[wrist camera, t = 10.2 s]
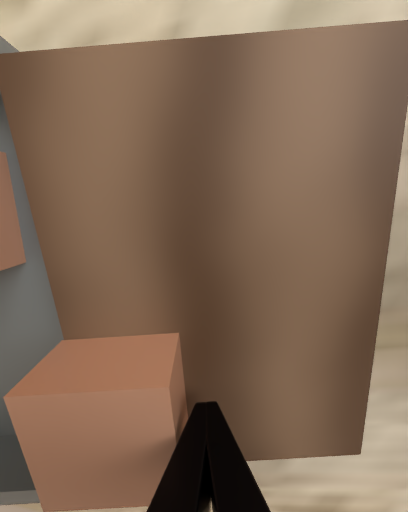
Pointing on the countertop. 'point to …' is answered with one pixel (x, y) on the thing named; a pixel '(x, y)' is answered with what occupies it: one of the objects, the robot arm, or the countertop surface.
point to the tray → (21, 324)
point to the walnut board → (225, 211)
